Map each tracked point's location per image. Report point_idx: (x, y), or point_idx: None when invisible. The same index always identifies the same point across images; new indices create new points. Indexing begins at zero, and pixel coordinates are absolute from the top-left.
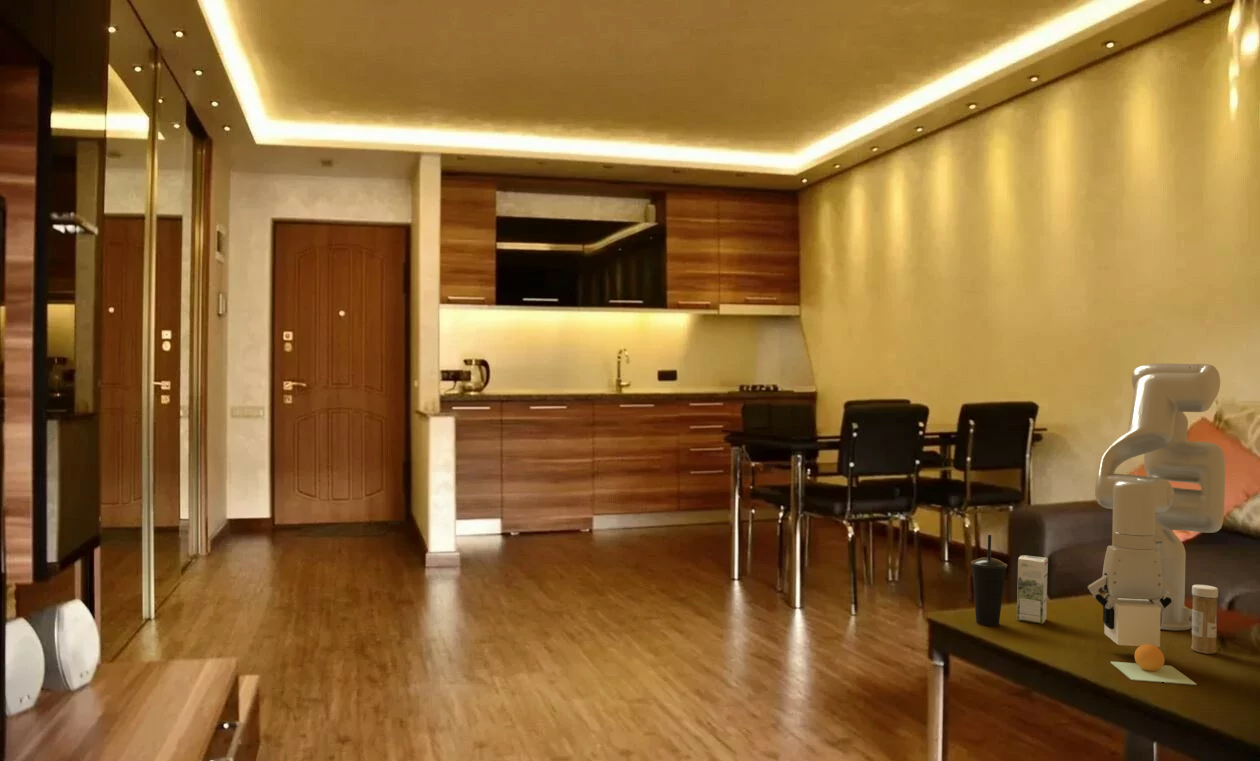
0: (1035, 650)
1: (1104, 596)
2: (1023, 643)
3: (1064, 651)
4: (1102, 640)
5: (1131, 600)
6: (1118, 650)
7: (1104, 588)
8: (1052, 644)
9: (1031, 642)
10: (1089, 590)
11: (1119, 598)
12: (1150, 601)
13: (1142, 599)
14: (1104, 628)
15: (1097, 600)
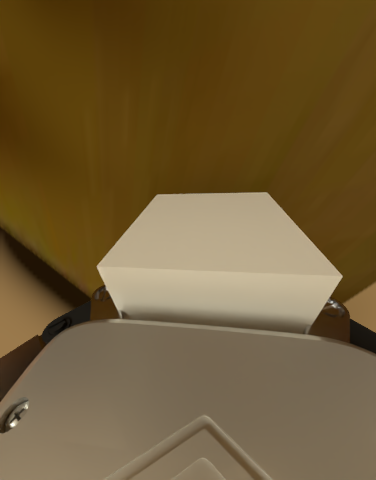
0: (47, 230)
1: (90, 319)
2: (14, 187)
3: (91, 224)
4: (183, 75)
5: (212, 322)
6: (196, 186)
7: (59, 335)
8: (64, 177)
9: (23, 174)
10: (7, 355)
11: (165, 300)
12: (304, 331)
13: (286, 308)
14: (153, 199)
15: (75, 312)
